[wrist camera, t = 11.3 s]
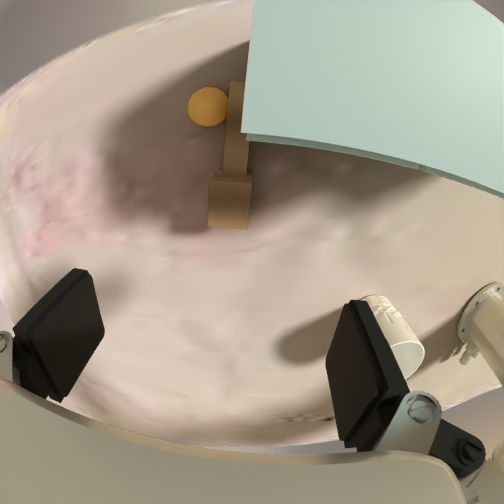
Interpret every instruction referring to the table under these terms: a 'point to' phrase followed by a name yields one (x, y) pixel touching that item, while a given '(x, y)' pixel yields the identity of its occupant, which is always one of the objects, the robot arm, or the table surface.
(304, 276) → the table surface
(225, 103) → the orange round disc
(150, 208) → the table surface
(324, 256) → the table surface
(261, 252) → the table surface
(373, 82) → the cabinet
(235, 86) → the brown boxy piece
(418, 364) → the white cup
